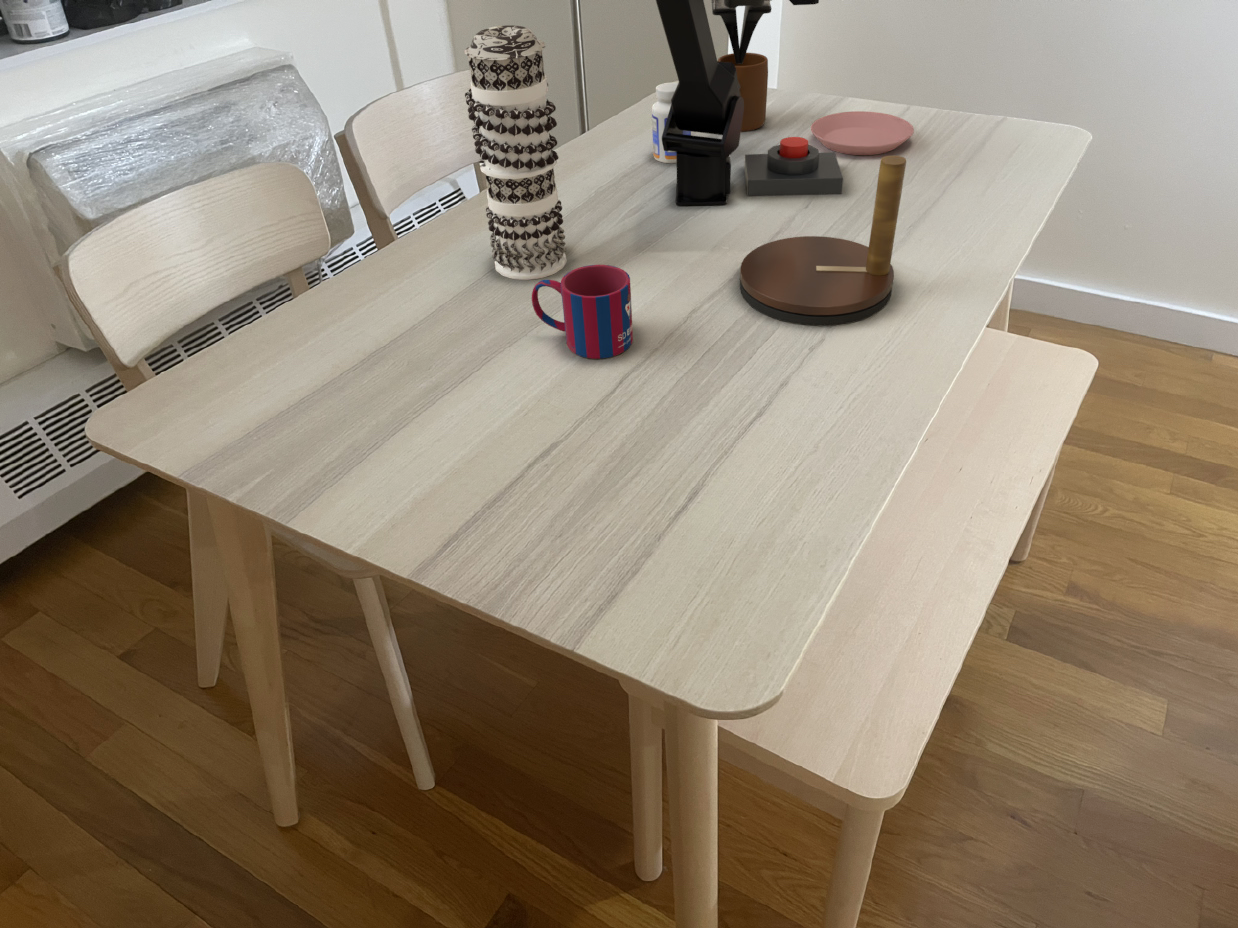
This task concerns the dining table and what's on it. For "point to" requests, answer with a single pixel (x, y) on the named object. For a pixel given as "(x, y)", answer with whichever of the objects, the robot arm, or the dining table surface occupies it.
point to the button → (793, 147)
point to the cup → (592, 310)
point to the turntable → (831, 261)
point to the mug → (751, 88)
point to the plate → (861, 132)
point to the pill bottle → (663, 121)
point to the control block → (792, 174)
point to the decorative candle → (516, 151)
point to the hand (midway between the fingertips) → (739, 62)
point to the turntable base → (813, 319)
